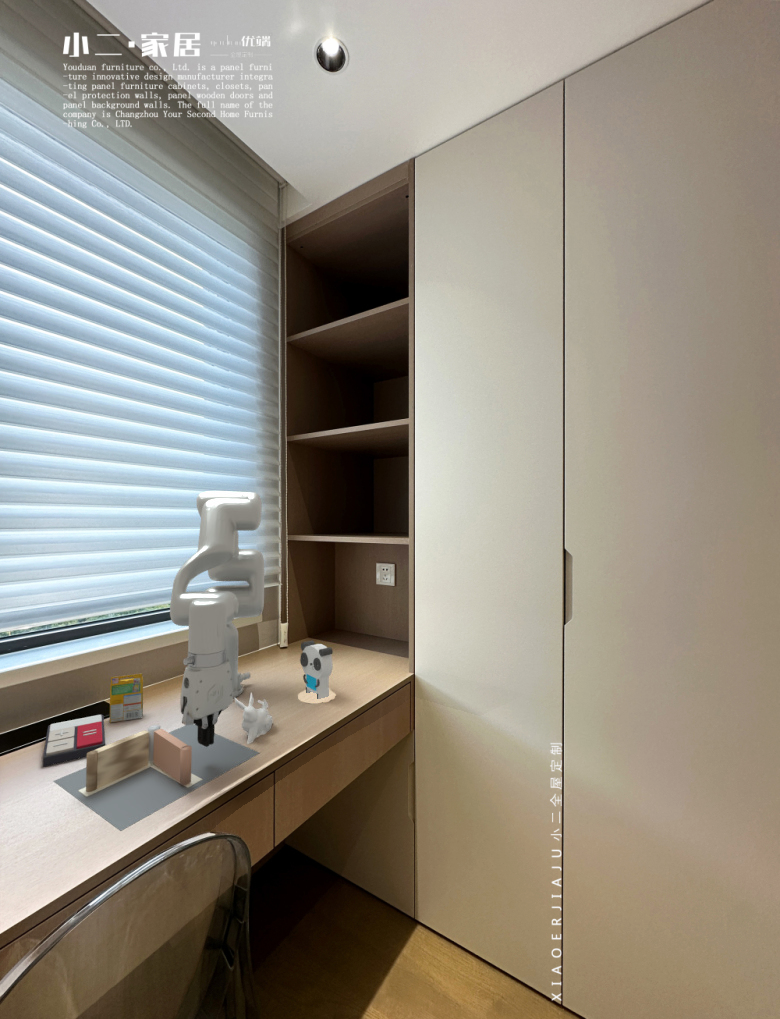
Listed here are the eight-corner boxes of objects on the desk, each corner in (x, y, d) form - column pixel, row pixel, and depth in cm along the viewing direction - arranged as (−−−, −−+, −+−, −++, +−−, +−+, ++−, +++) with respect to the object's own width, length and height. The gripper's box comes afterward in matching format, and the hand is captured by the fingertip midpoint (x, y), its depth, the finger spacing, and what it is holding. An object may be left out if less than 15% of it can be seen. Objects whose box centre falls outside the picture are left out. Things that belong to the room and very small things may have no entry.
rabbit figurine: (247, 750, 105) (248, 707, 105) (221, 743, 108) (222, 701, 108) (279, 727, 116) (280, 689, 116) (255, 722, 119) (256, 684, 119)
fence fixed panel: (143, 763, 97) (144, 729, 97) (148, 765, 96) (149, 732, 96) (84, 790, 88) (84, 753, 88) (88, 793, 87) (89, 756, 87)
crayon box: (142, 713, 122) (143, 669, 122) (142, 718, 119) (143, 673, 119) (110, 718, 119) (111, 673, 119) (109, 723, 116) (110, 677, 116)
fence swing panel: (194, 781, 90) (194, 747, 90) (182, 786, 89) (182, 752, 89) (156, 754, 100) (157, 723, 100) (145, 758, 98) (145, 727, 98)
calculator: (42, 754, 95) (48, 721, 108) (42, 774, 95) (47, 739, 108) (105, 740, 101) (103, 711, 114) (105, 759, 101) (103, 728, 114)
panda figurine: (288, 694, 136) (289, 643, 136) (320, 685, 144) (321, 636, 144) (310, 707, 127) (311, 653, 128) (343, 697, 135) (344, 645, 135)
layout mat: (191, 725, 116) (191, 722, 116) (260, 755, 102) (260, 752, 102) (53, 784, 90) (53, 780, 90) (120, 834, 77) (120, 830, 77)
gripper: (185, 671, 89) (184, 765, 90) (247, 651, 102) (245, 734, 102) (163, 663, 93) (162, 753, 94) (225, 645, 106) (224, 724, 106)
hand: (205, 743), depth 98 cm, fingers closed
